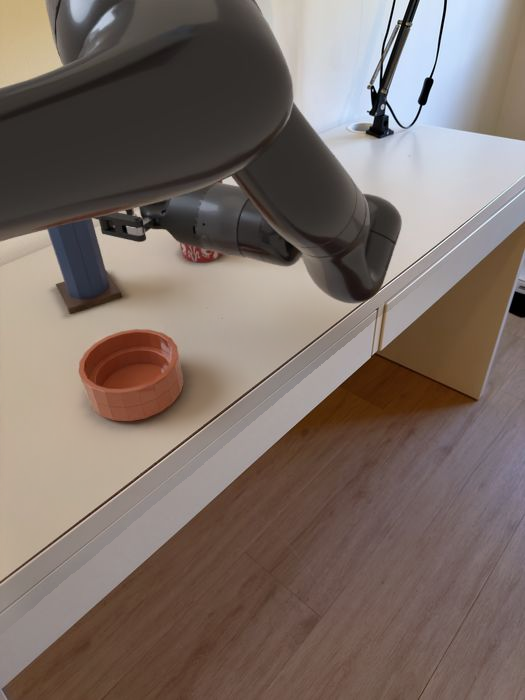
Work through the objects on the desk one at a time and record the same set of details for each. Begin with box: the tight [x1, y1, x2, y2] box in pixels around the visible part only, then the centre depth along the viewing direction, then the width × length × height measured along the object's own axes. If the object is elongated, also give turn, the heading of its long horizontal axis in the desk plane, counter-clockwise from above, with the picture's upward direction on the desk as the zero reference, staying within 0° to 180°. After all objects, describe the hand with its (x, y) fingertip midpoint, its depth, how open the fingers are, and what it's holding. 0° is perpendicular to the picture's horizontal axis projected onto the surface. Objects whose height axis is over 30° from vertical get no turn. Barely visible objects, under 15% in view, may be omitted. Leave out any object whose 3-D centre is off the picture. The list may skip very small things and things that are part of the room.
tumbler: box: [46, 218, 109, 299], centre depth 77 cm, size 6×6×12 cm
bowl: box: [78, 328, 185, 422], centre depth 62 cm, size 11×11×5 cm
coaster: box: [55, 268, 123, 315], centre depth 81 cm, size 8×8×1 cm
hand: (111, 193), depth 66 cm, fingers open, 8 cm apart
